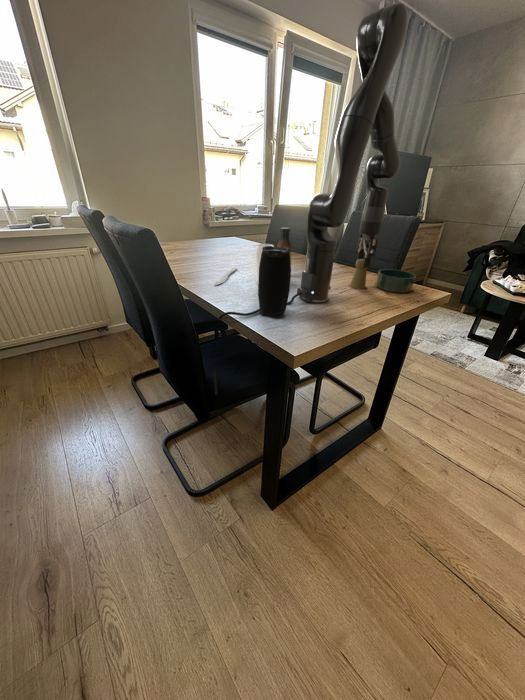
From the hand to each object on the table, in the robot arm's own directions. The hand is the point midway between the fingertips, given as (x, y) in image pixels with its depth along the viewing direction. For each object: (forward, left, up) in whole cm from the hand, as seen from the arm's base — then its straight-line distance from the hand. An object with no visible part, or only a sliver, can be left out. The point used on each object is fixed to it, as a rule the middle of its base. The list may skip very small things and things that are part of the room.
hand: (362, 264), depth 112 cm
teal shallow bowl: (+13, -7, -9) cm, 17 cm away
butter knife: (-45, +32, -9) cm, 56 cm away
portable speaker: (-47, -11, -9) cm, 49 cm away
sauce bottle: (-21, +25, -9) cm, 34 cm away
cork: (0, 0, -9) cm, 9 cm away
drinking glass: (-35, +17, -9) cm, 40 cm away
